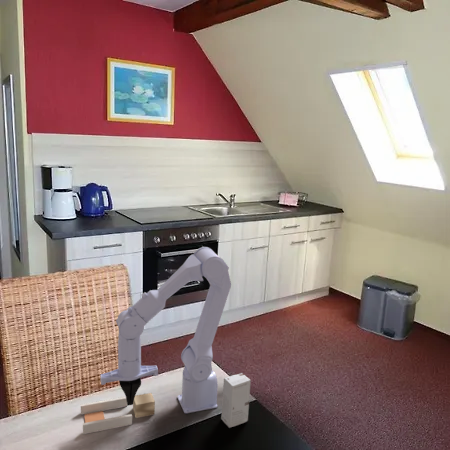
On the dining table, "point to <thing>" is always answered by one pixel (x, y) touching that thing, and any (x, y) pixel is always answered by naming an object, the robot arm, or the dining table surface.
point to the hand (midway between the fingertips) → (129, 402)
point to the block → (144, 405)
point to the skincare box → (235, 400)
